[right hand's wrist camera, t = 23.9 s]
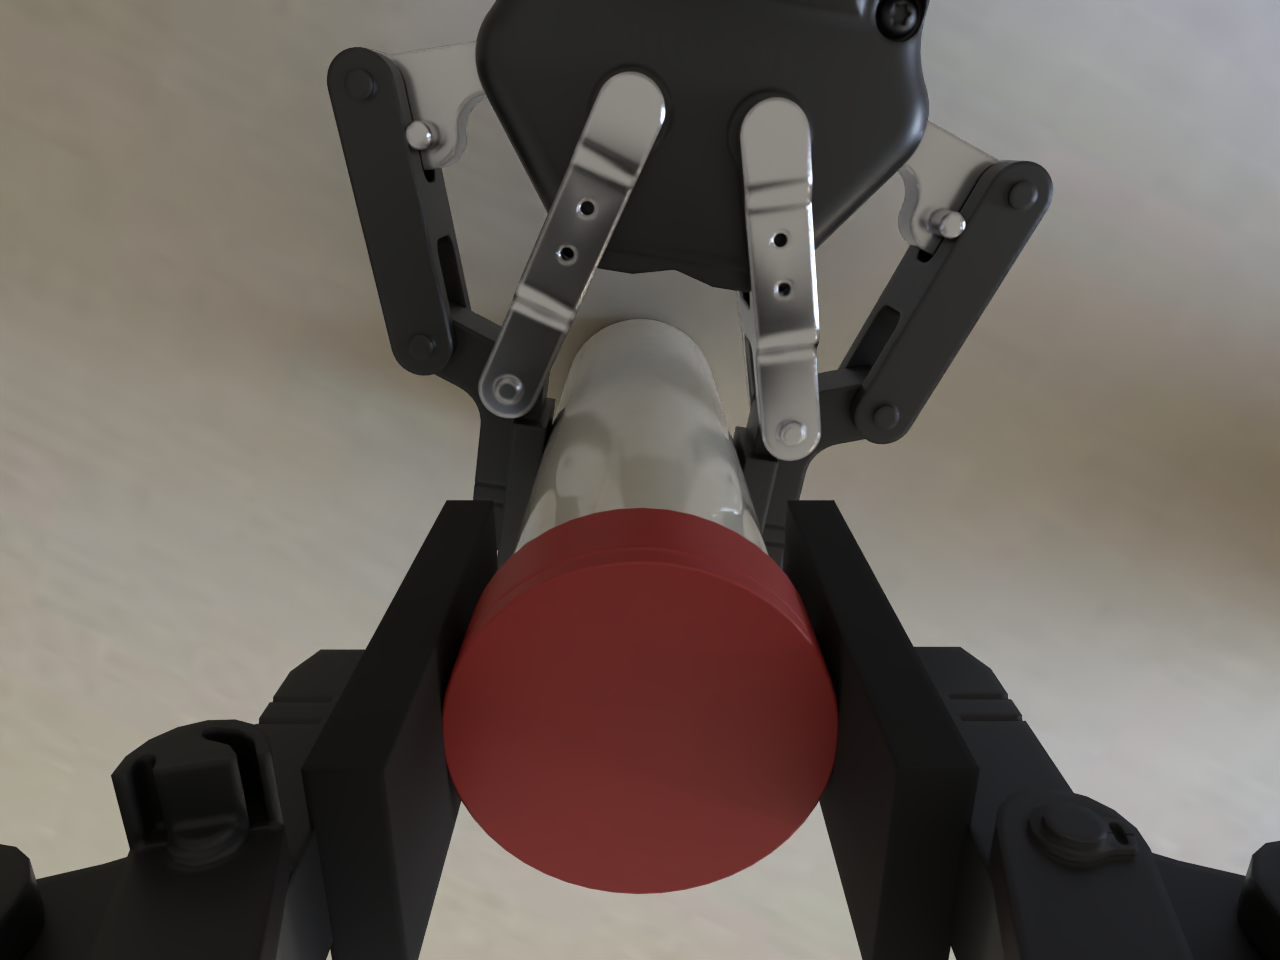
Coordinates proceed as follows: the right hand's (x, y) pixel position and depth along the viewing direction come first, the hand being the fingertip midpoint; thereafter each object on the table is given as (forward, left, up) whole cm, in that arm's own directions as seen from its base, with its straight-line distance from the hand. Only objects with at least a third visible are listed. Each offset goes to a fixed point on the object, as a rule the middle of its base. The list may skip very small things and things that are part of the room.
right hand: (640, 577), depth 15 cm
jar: (0, 0, -12) cm, 12 cm away
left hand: (+1, -2, -5) cm, 6 cm away
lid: (0, 0, +4) cm, 4 cm away
